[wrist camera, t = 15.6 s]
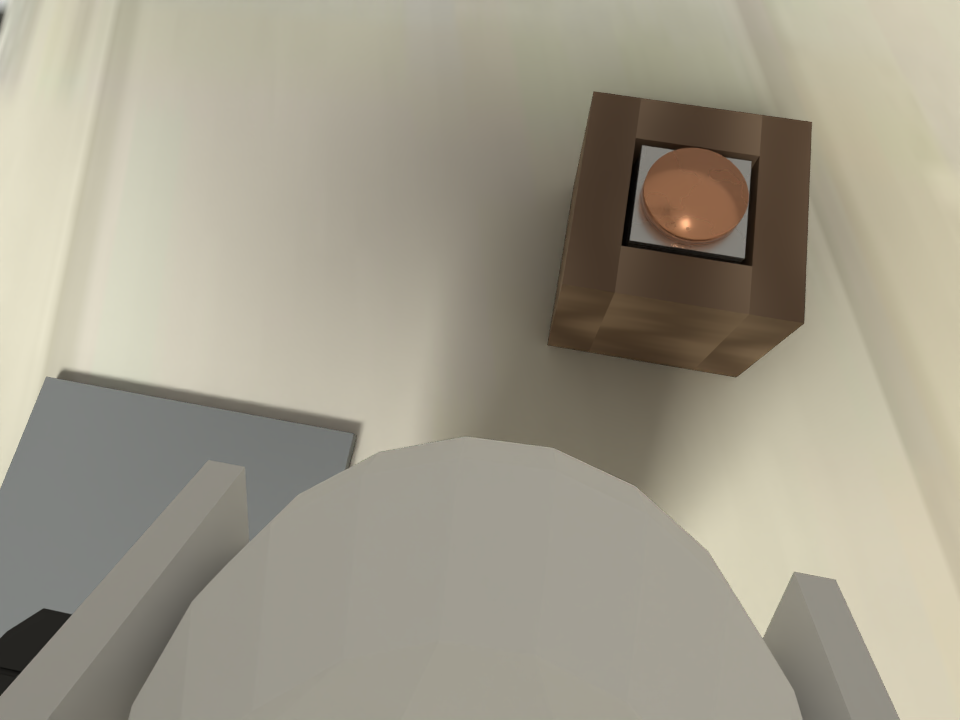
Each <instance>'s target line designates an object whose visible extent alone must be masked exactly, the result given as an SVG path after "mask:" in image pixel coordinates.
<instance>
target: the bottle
mask: <svg viewBox="0 0 960 720" xmlns="http://www.w3.org/2000/svg"><path fill="white" fill-rule="evenodd" d="M128 720H803V718H802V715H801V712H800V708H799V705H798V702H797V698H796V695H795V692H794V690H793V688H792V686H791V685H790V683H789V681H788V680H787V678H786V676H785V675H784V673H783V671H782V670H781V668H780V666H779V665H778V663H777V661H776V660H775V658H774V656H773V655H772V653H771V651H770V650H769V648H768V647H767V645H766V643H765V642H764V640H763V638H762V637H761V635H760V633H759V632H758V630H757V629H756V627H755V625H754V624H753V622H752V621H751V619H750V617H749V616H748V614H747V613H746V611H745V609H744V608H743V606H742V605H741V603H740V601H739V600H738V598H737V597H736V595H735V593H734V592H733V590H732V589H731V587H730V585H729V584H728V582H727V581H726V579H725V577H724V576H723V574H722V572H721V571H720V569H719V568H718V566H717V564H716V563H715V561H714V560H713V558H712V556H711V555H710V553H709V552H708V551H707V550H706V549H705V548H704V547H703V546H702V545H701V544H700V543H698V542H697V541H696V540H695V539H694V538H693V537H692V536H691V535H690V534H688V533H687V532H686V531H685V530H684V529H683V528H682V527H681V526H680V525H678V524H677V523H676V522H675V521H674V520H673V519H672V518H671V517H670V516H668V515H667V514H666V513H665V512H664V511H663V510H662V509H661V508H659V507H658V506H657V505H656V504H655V503H654V502H653V501H652V500H651V499H649V498H648V497H647V496H646V495H645V494H644V493H643V492H642V491H641V490H639V489H638V488H637V487H636V486H634V485H632V484H630V483H628V482H626V481H623V480H621V479H619V478H617V477H615V476H613V475H611V474H608V473H606V472H604V471H602V470H600V469H598V468H596V467H593V466H591V465H589V464H587V463H585V462H583V461H581V460H578V459H576V458H574V457H572V456H570V455H568V454H566V453H563V452H561V451H559V450H557V449H555V448H551V447H544V446H536V445H528V444H521V443H513V442H506V441H498V440H490V439H483V438H475V437H467V436H465V437H459V438H454V439H448V440H443V441H437V442H432V443H426V444H421V445H415V446H410V447H404V448H399V449H393V450H388V451H382V452H378V453H376V454H374V455H372V456H370V457H369V458H367V459H365V460H363V461H361V462H359V463H357V464H355V465H353V466H351V467H350V468H348V469H346V470H344V471H342V472H340V473H338V474H336V475H334V476H332V477H331V478H329V479H327V480H325V481H323V482H321V483H319V484H317V485H315V486H313V487H312V488H310V489H308V490H306V491H304V492H302V493H300V494H298V495H297V496H296V497H295V498H294V499H293V500H292V501H291V502H290V503H289V504H288V505H287V506H286V507H285V508H284V509H283V510H282V511H281V512H280V513H279V514H278V515H277V516H276V517H275V518H274V519H273V520H271V521H270V522H269V523H268V524H267V525H266V526H265V527H264V528H263V529H262V530H261V531H260V532H259V533H258V534H257V535H256V536H255V537H254V538H253V539H252V540H251V541H250V542H249V543H248V544H247V545H246V546H245V547H244V548H243V549H242V550H241V551H240V552H239V553H238V554H237V555H236V556H235V557H234V558H233V559H232V560H231V561H230V562H229V563H228V564H227V565H226V566H225V567H224V568H223V569H222V570H221V571H220V572H219V573H218V574H217V575H216V576H215V577H214V578H213V579H212V581H211V582H210V583H209V584H208V585H207V586H206V587H205V588H204V589H203V590H202V591H201V592H200V593H199V594H198V595H197V596H196V597H195V599H194V600H193V601H192V602H191V604H190V606H189V607H188V609H187V611H186V613H185V614H184V616H183V618H182V619H181V621H180V623H179V625H178V626H177V628H176V630H175V632H174V633H173V635H172V637H171V638H170V640H169V642H168V644H167V645H166V647H165V649H164V651H163V652H162V654H161V656H160V658H159V659H158V661H157V663H156V664H155V666H154V668H153V670H152V671H151V673H150V675H149V677H148V678H147V680H146V682H145V683H144V685H143V687H142V689H141V690H140V692H139V694H138V696H137V697H136V699H135V701H134V703H133V704H132V707H131V711H130V714H129V718H128Z"/></svg>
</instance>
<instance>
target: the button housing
mask: <svg viewBox="0 0 960 720" xmlns="http://www.w3.org/2000/svg"><path fill="white" fill-rule="evenodd" d="M811 131H812V122H808V121H801V120H793V119H786V118H779V117H772V116H765V115H758V114H751V113H744V112H736V111H729V110H722V109H715V108H708V107H701V106H694V105H686V104H679V103H672V102H665V101H658V100H651V99H644V98H636V97H629V96H622V95H615V94H608V93H601V92H593V97H592V102H591V107H590V111H589V116H588V121H587V126H586V130H585V135H584V140H583V145H582V149H581V154H580V159H579V164H578V168H577V173H576V178H575V183H574V188H573V194H572V200H571V206H570V212H569V218H568V224H567V230H566V236H565V242H564V248H563V254H562V260H561V266H560V272H559V279H558V285H557V291H556V297H555V303H554V309H553V315H552V321H551V327H550V333H549V339H548V345H550V346H556V347H562V348H568V349H574V350H580V351H586V352H591V353H597V354H603V355H609V356H615V357H621V358H627V359H632V360H638V361H644V362H650V363H656V364H662V365H668V366H674V367H679V368H685V369H691V370H697V371H703V372H709V373H715V374H721V375H726V376H732V377H737V376H739V375H740V374H741V373H742V372H744V371H745V370H746V369H747V368H749V367H750V366H751V365H752V364H754V363H755V362H756V361H757V360H759V359H760V358H761V357H762V356H764V355H765V354H766V353H768V352H769V351H770V350H771V349H773V348H774V347H775V346H776V345H778V344H779V343H780V342H781V341H783V340H784V339H785V338H786V337H788V336H789V335H790V334H791V333H793V332H794V331H795V330H796V329H798V328H799V327H800V326H801V325H803V324H804V313H805V287H806V261H807V235H808V209H809V183H810V157H811ZM642 145H643V146H650V147H657V148H664V149H671V150H678V149H682V148H702V149H707V150H710V151H713V152H716V153H718V154H720V155H722V156H724V157H726V158H732V159H739V160H746V161H752V162H751V176H750V191H749V205H748V219H747V233H746V247H745V259H744V260H743V261H742V262H741V264H734V263H728V262H721V261H715V260H709V259H702V258H696V257H690V256H683V255H677V254H671V253H664V252H658V251H652V250H645V249H639V248H633V247H626V246H621V243H622V236H623V229H624V221H625V214H626V206H627V199H628V192H629V184H630V179H631V176H632V173H633V170H634V167H635V165H636V162H637V159H638V156H639V153H640V150H641V148H642Z"/></svg>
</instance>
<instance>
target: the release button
mask: <svg viewBox="0 0 960 720" xmlns="http://www.w3.org/2000/svg"><path fill="white" fill-rule="evenodd" d="M751 162H752V161H746V160H739V159H732V158H726V157H724V156H722V155H720V154H718V153H716V152H713V151H710V150H707V149H702V148H682V149H678V150H671V149H664V148H657V147H650V146H643V145H642V148H641V150H640V153H639V156H638V159H637V162H636V165H635V167H634V170H633V173H632V176H631V179H630V184H629V192H628V199H627V206H626V214H625V221H624V229H623V236H622V243H621V246H626V247H633V248H639V249H645V250H652V251H658V252H664V253H671V254H677V255H683V256H690V257H696V258H702V259H709V260H715V261H721V262H728V263H734V264H741V262H742V261H743V260H744V259H745V247H746V233H747V219H748V205H749V191H750V176H751Z"/></svg>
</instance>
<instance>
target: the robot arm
mask: <svg viewBox="0 0 960 720" xmlns="http://www.w3.org/2000/svg"><path fill="white" fill-rule="evenodd" d="M248 543H249V527H248V510H247V493H246V476H245V467H243V466H238V465H232V464H227V463H222V462H217V461H211V460H208V461H207V462H206V463H205V465H204V466H203V467H202V468H201V469H200V470H199V471H198V472H197V474H196V475H195V476H194V477H193V478H192V479H191V480H190V482H189V483H188V484H187V485H186V486H185V487H184V488H183V489H182V491H181V492H180V493H179V494H178V495H177V496H176V497H175V499H174V500H173V501H172V502H171V503H170V504H169V505H168V506H167V508H166V509H165V510H164V511H163V512H162V513H161V514H160V516H159V517H158V518H157V519H156V520H155V521H154V522H153V524H152V525H151V526H150V527H149V528H148V529H147V530H146V531H145V533H144V534H143V535H142V536H141V537H140V538H139V539H138V541H137V542H136V543H135V544H134V545H133V546H132V547H131V548H130V550H129V551H128V552H127V553H126V554H125V555H124V556H123V558H122V559H121V560H120V561H119V562H118V563H117V564H116V565H115V567H114V568H113V569H112V570H111V571H110V572H109V573H108V575H107V576H106V577H105V578H104V579H103V580H102V581H101V582H100V584H99V585H98V586H97V587H96V588H95V589H94V590H93V592H92V593H91V594H90V595H89V596H88V597H87V598H86V599H85V601H84V602H83V603H82V604H81V605H80V606H79V607H78V609H77V610H76V611H75V612H74V613H73V614H69V613H64V612H59V611H55V610H50V609H45V608H43V609H41V610H40V611H38V612H37V613H35V614H34V615H32V616H30V617H29V618H27V619H26V620H24V621H22V622H21V623H19V624H18V625H16V626H15V627H13V628H11V629H10V630H8V631H7V632H6V633H5V634H4V635H3V636H2V637H1V638H0V720H128V718H129V714H130V711H131V707H132V704H133V703H134V701H135V699H136V697H137V696H138V694H139V692H140V690H141V689H142V687H143V685H144V683H145V682H146V680H147V678H148V677H149V675H150V673H151V671H152V670H153V668H154V666H155V664H156V663H157V661H158V659H159V658H160V656H161V654H162V652H163V651H164V649H165V647H166V645H167V644H168V642H169V640H170V638H171V637H172V635H173V633H174V632H175V630H176V628H177V626H178V625H179V623H180V621H181V619H182V618H183V616H184V614H185V613H186V611H187V609H188V607H189V606H190V604H191V602H192V601H193V600H194V599H195V597H196V596H197V595H198V594H199V593H200V592H201V591H202V590H203V589H204V588H205V587H206V586H207V585H208V584H209V583H210V582H211V581H212V579H213V578H214V577H215V576H216V575H217V574H218V573H219V572H220V571H221V570H222V569H223V568H224V567H225V566H226V565H227V564H228V563H229V562H230V561H231V560H232V559H233V558H234V557H235V556H236V555H237V554H238V553H239V552H240V551H241V550H242V549H243V548H244V547H245V546H246V545H247V544H248ZM763 640H764V642H765V643H766V645H767V647H768V648H769V650H770V651H771V653H772V655H773V656H774V658H775V660H776V661H777V663H778V665H779V666H780V668H781V670H782V671H783V673H784V675H785V676H786V678H787V680H788V681H789V683H790V685H791V686H792V688H793V690H794V692H795V695H796V698H797V702H798V705H799V708H800V712H801V715H802V718H803V720H900V719H899V717H898V714H897V712H896V710H895V708H894V706H893V703H892V701H891V699H890V697H889V695H888V693H887V690H886V688H885V686H884V684H883V682H882V680H881V677H880V675H879V673H878V671H877V669H876V667H875V664H874V662H873V660H872V658H871V656H870V653H869V651H868V649H867V647H866V645H865V643H864V640H863V638H862V636H861V634H860V632H859V630H858V627H857V625H856V623H855V621H854V619H853V617H852V614H851V612H850V610H849V608H848V606H847V603H846V601H845V599H844V597H843V595H842V593H841V590H840V588H839V586H838V584H837V582H836V580H834V579H829V578H824V577H819V576H814V575H808V574H803V573H798V572H794V573H793V575H792V577H791V579H790V581H789V583H788V586H787V588H786V590H785V592H784V594H783V596H782V598H781V601H780V603H779V605H778V607H777V609H776V611H775V613H774V616H773V618H772V620H771V622H770V624H769V626H768V628H767V630H766V633H765V635H764V637H763Z"/></svg>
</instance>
